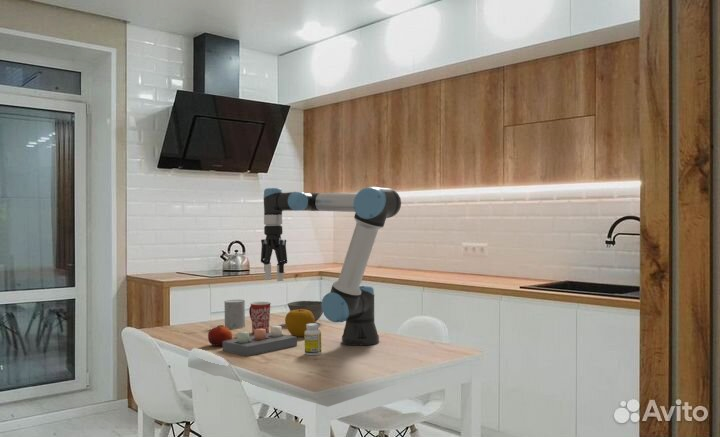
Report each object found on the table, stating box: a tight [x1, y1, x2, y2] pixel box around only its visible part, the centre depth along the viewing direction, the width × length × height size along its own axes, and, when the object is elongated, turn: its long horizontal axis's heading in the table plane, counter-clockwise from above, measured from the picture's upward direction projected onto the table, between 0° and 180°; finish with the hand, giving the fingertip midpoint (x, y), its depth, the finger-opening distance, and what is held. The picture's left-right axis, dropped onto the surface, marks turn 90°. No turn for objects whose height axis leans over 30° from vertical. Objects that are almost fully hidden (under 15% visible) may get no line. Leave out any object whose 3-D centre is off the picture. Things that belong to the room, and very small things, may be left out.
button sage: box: [236, 331, 250, 344], centre depth 231 cm, size 4×4×4 cm
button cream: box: [270, 325, 283, 338], centre depth 243 cm, size 4×4×4 cm
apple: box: [284, 309, 316, 338], centre depth 262 cm, size 13×13×11 cm
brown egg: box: [253, 329, 266, 341], centre depth 237 cm, size 4×4×4 cm
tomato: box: [207, 324, 233, 347], centre depth 244 cm, size 9×9×8 cm
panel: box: [222, 331, 298, 357], centre depth 237 cm, size 16×24×4 cm, turn 137°
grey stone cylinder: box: [224, 299, 246, 330], centre depth 286 cm, size 10×10×12 cm
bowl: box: [286, 300, 324, 323], centre depth 293 cm, size 19×19×10 cm
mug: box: [248, 301, 272, 335], centre depth 270 cm, size 13×9×14 cm
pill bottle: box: [303, 322, 322, 356], centre depth 225 cm, size 6×6×11 cm
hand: (274, 280), depth 252 cm, fingers open, 7 cm apart
